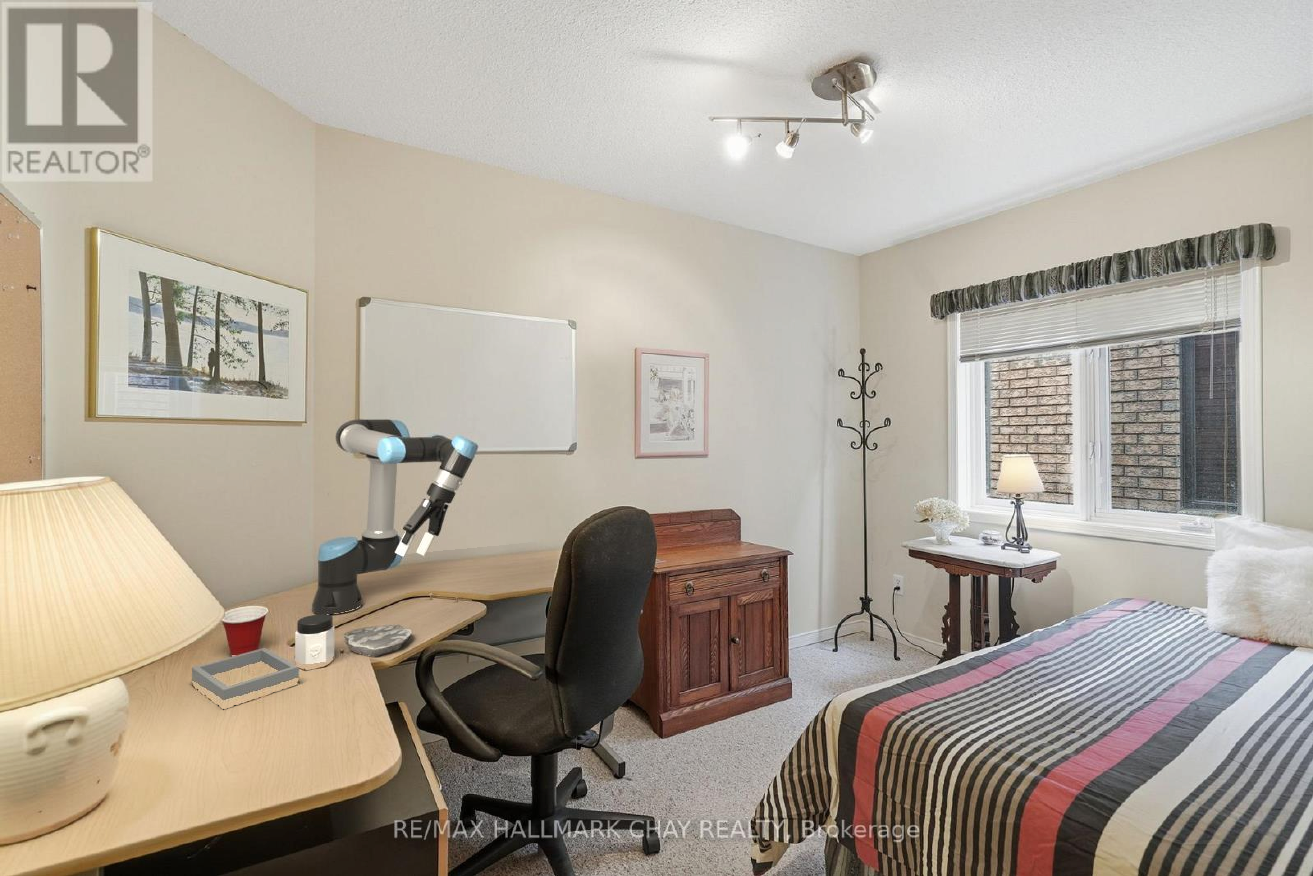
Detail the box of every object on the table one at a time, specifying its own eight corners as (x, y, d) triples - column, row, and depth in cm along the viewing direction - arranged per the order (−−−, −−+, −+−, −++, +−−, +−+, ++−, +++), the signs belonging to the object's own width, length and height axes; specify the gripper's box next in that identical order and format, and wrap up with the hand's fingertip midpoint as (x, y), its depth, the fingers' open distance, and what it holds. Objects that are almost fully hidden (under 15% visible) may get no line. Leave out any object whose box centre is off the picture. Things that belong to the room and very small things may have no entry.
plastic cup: (215, 666, 151) (215, 621, 151) (223, 651, 161) (223, 608, 161) (265, 659, 156) (265, 615, 156) (270, 645, 166) (270, 603, 166)
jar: (295, 673, 149) (295, 627, 148) (294, 661, 156) (294, 617, 155) (335, 666, 154) (335, 621, 153) (332, 655, 161) (333, 612, 160)
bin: (191, 686, 141) (191, 667, 140) (264, 664, 153) (264, 647, 153) (223, 710, 130) (223, 690, 130) (298, 685, 143) (298, 666, 142)
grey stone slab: (425, 644, 170) (426, 634, 170) (369, 664, 156) (369, 653, 156) (387, 629, 181) (387, 620, 181) (331, 646, 167) (331, 636, 167)
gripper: (439, 487, 159) (402, 560, 155) (470, 495, 183) (438, 558, 180) (414, 476, 160) (377, 549, 156) (449, 486, 184) (417, 549, 181)
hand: (410, 554), depth 168 cm, fingers open, 13 cm apart
